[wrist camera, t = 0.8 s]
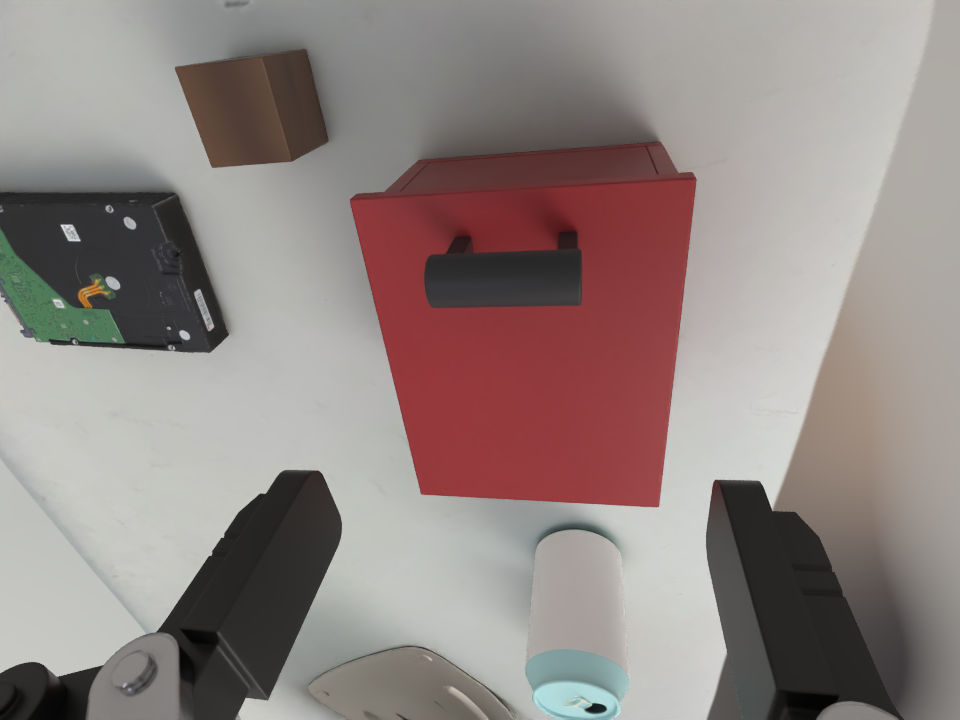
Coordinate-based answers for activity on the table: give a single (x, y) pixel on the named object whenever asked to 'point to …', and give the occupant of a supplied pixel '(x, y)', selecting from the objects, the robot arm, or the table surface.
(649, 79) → the table surface
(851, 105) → the table surface
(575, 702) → the can
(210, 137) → the block
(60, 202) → the disk drive
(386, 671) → the laptop stand
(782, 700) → the robot arm
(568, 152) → the red box
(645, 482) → the box lid
